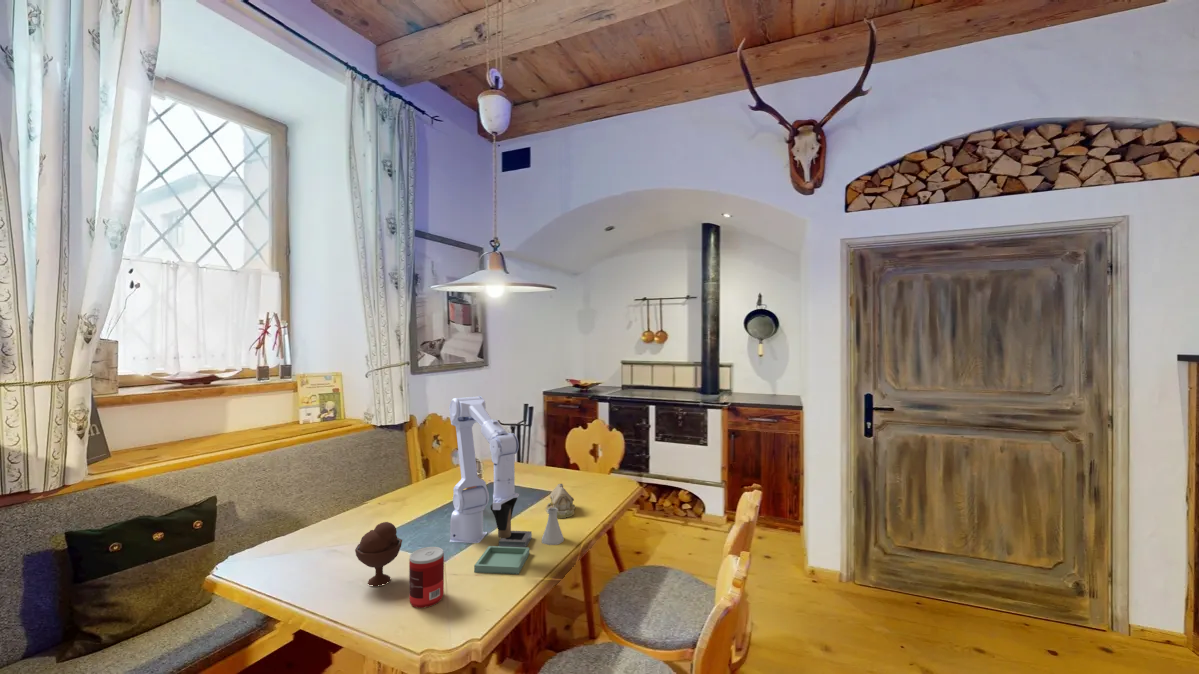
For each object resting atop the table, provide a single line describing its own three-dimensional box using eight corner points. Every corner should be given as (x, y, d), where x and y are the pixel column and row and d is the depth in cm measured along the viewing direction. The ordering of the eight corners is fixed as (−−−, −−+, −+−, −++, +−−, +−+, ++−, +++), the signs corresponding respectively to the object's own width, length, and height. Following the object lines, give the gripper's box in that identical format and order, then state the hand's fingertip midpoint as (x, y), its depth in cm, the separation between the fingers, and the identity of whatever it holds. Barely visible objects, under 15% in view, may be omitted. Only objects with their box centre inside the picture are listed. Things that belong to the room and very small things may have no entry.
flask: (560, 547, 143) (560, 514, 143) (537, 545, 144) (537, 512, 144) (567, 538, 150) (567, 506, 150) (545, 536, 151) (545, 504, 151)
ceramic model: (543, 506, 179) (543, 479, 179) (573, 504, 181) (573, 477, 181) (548, 520, 165) (548, 491, 165) (580, 517, 168) (580, 488, 168)
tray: (474, 574, 127) (474, 565, 127) (488, 553, 139) (488, 546, 139) (518, 576, 126) (518, 567, 126) (529, 555, 138) (529, 547, 138)
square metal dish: (498, 549, 141) (498, 541, 142) (506, 538, 149) (506, 530, 149) (525, 550, 141) (525, 542, 141) (531, 539, 149) (531, 531, 149)
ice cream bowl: (388, 567, 131) (388, 512, 131) (409, 580, 123) (409, 522, 124) (348, 582, 122) (348, 524, 122) (368, 597, 115) (368, 535, 115)
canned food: (447, 590, 119) (447, 546, 119) (437, 608, 111) (437, 560, 111) (416, 591, 118) (416, 546, 118) (404, 609, 110) (404, 561, 110)
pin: (496, 538, 132) (496, 508, 132) (500, 533, 135) (500, 504, 135) (508, 538, 131) (508, 509, 131) (512, 533, 135) (512, 504, 135)
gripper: (511, 486, 126) (511, 538, 126) (524, 471, 140) (524, 517, 140) (485, 485, 126) (485, 537, 126) (501, 470, 141) (501, 517, 141)
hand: (504, 527), depth 133 cm, fingers closed on pin, 3 cm apart
